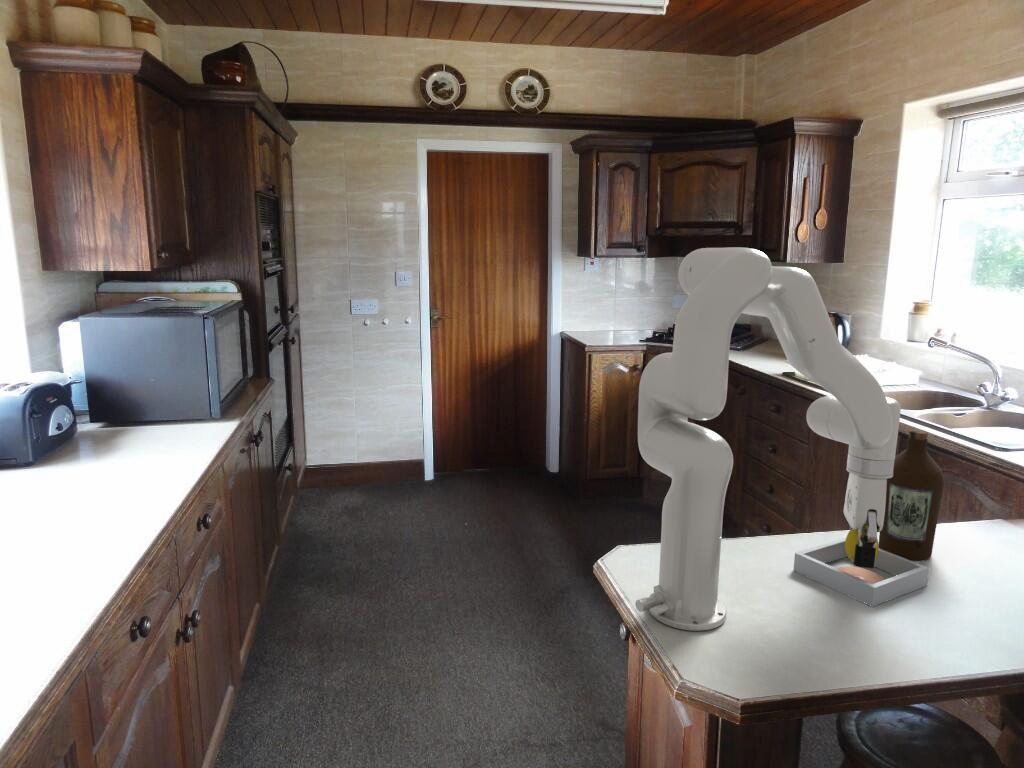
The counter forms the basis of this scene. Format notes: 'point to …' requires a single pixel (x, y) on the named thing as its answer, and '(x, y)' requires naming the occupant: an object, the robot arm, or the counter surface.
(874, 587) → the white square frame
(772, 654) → the counter surface
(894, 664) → the counter surface
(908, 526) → the brown glass bottle
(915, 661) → the counter surface
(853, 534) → the lemon
